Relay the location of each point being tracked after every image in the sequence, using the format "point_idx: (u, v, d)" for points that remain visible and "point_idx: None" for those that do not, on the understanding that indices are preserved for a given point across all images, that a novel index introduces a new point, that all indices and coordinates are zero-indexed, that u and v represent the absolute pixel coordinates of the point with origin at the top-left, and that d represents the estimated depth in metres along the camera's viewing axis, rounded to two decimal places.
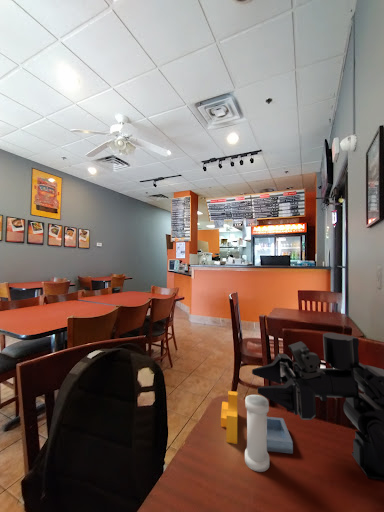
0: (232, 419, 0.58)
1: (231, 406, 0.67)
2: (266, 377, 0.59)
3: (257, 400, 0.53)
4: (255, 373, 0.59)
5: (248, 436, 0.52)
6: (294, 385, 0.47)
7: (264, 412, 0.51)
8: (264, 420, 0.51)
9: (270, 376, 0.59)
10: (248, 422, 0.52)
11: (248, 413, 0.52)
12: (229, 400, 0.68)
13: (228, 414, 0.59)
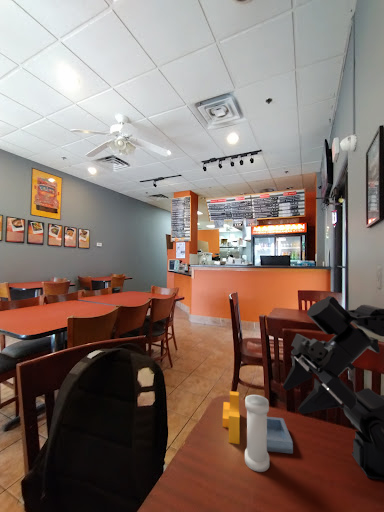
0: (234, 420, 0.58)
1: (232, 407, 0.67)
2: (298, 382, 0.57)
3: (257, 400, 0.53)
4: (287, 387, 0.57)
5: (248, 436, 0.52)
6: (321, 385, 0.45)
7: (264, 412, 0.51)
8: (264, 420, 0.51)
9: (300, 378, 0.57)
10: (248, 422, 0.52)
11: (248, 413, 0.52)
12: (230, 400, 0.68)
13: (230, 414, 0.59)
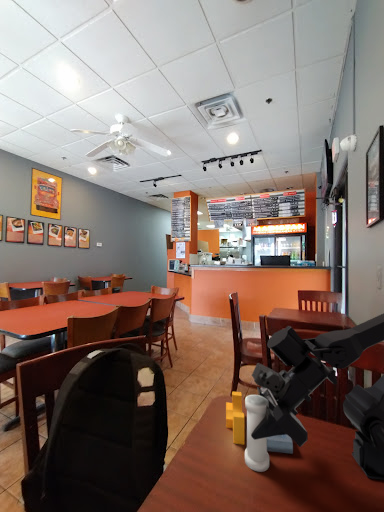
0: (239, 420, 0.58)
1: (235, 407, 0.67)
2: None
3: (257, 400, 0.53)
4: None
5: (248, 436, 0.52)
6: (270, 414, 0.48)
7: (264, 412, 0.51)
8: None
9: None
10: (248, 422, 0.52)
11: (248, 413, 0.52)
12: (233, 401, 0.68)
13: (235, 415, 0.59)
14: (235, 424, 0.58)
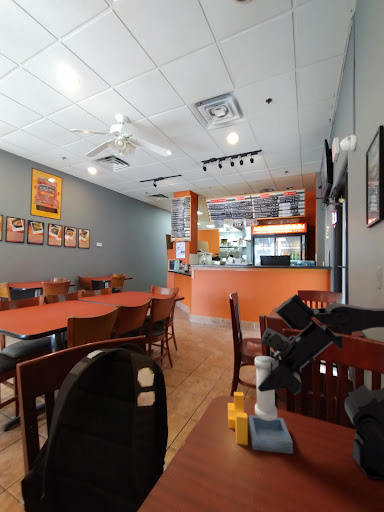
0: (242, 421, 0.58)
1: (237, 407, 0.67)
2: None
3: (265, 359, 0.59)
4: None
5: (257, 390, 0.59)
6: (271, 368, 0.54)
7: (269, 368, 0.57)
8: None
9: None
10: None
11: (256, 369, 0.59)
12: (235, 401, 0.68)
13: (238, 415, 0.59)
14: (238, 424, 0.58)
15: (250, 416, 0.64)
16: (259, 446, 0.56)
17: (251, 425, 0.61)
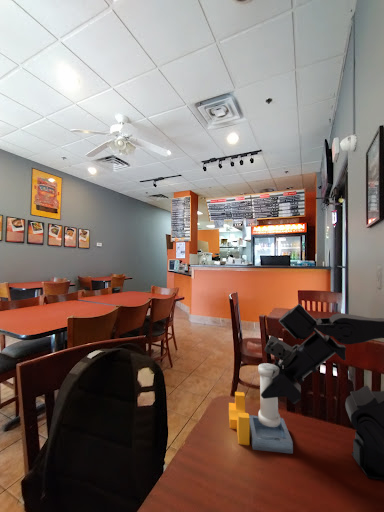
0: (244, 421, 0.58)
1: (239, 407, 0.67)
2: None
3: (269, 367, 0.61)
4: None
5: (260, 396, 0.60)
6: (272, 376, 0.55)
7: None
8: None
9: None
10: (260, 384, 0.61)
11: (260, 376, 0.61)
12: (236, 401, 0.68)
13: (240, 415, 0.58)
14: (240, 425, 0.58)
15: (250, 416, 0.64)
16: (259, 446, 0.56)
17: (251, 425, 0.61)
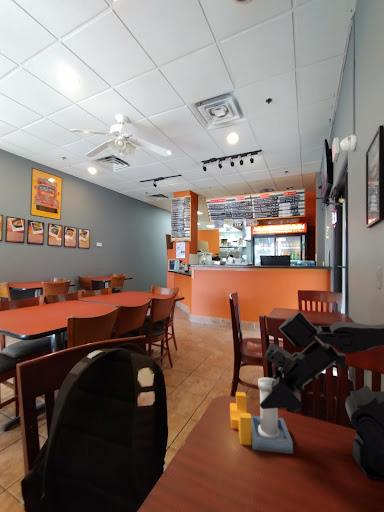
0: (246, 421, 0.58)
1: (240, 407, 0.67)
2: None
3: (269, 381, 0.61)
4: None
5: (260, 411, 0.60)
6: (272, 386, 0.54)
7: None
8: None
9: None
10: (260, 398, 0.61)
11: (260, 391, 0.61)
12: (238, 401, 0.67)
13: (242, 416, 0.58)
14: (242, 425, 0.58)
15: None
16: (259, 446, 0.56)
17: (251, 425, 0.61)
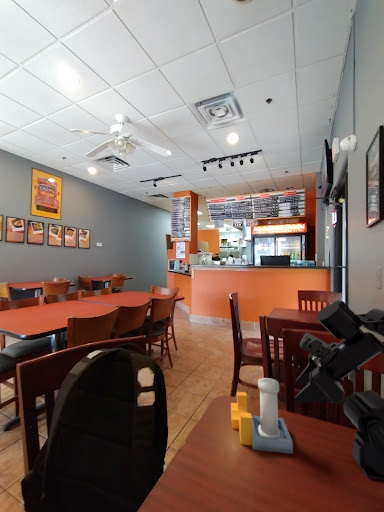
0: (247, 421, 0.58)
1: (241, 407, 0.67)
2: None
3: (269, 382, 0.60)
4: (300, 382, 0.61)
5: (260, 411, 0.60)
6: (310, 378, 0.50)
7: (272, 392, 0.58)
8: (272, 399, 0.58)
9: None
10: (260, 399, 0.60)
11: (260, 392, 0.61)
12: (238, 401, 0.67)
13: (242, 415, 0.58)
14: (242, 425, 0.58)
15: None
16: (259, 446, 0.56)
17: None
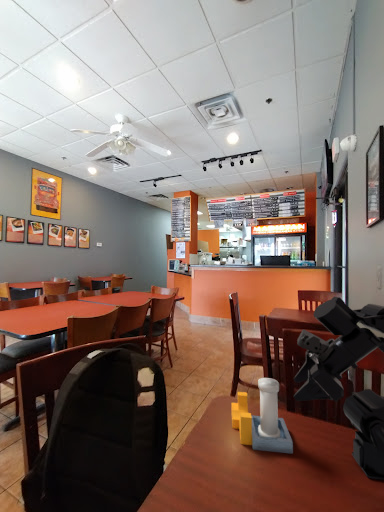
0: (247, 421, 0.58)
1: (241, 407, 0.67)
2: None
3: (269, 382, 0.61)
4: (298, 380, 0.61)
5: (260, 411, 0.60)
6: (309, 376, 0.49)
7: (272, 391, 0.58)
8: (272, 399, 0.58)
9: None
10: (260, 399, 0.60)
11: (260, 391, 0.61)
12: (239, 401, 0.68)
13: (242, 415, 0.58)
14: (242, 424, 0.58)
15: None
16: (259, 446, 0.56)
17: None
